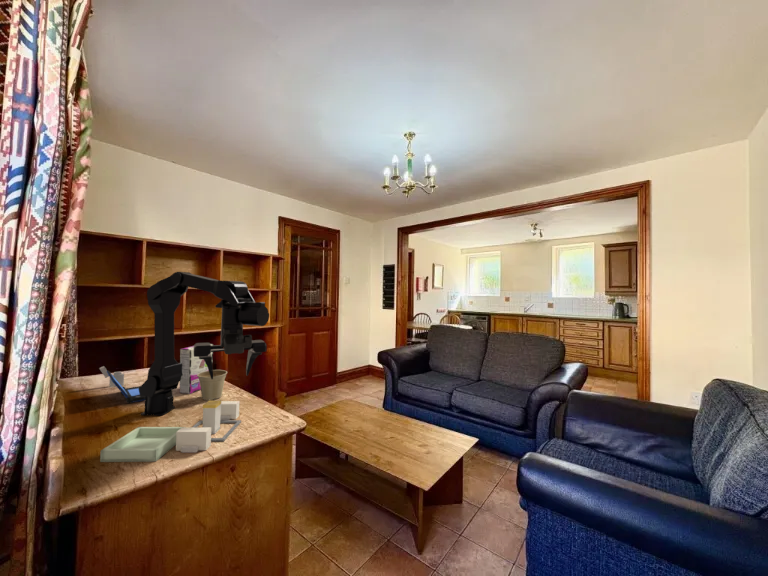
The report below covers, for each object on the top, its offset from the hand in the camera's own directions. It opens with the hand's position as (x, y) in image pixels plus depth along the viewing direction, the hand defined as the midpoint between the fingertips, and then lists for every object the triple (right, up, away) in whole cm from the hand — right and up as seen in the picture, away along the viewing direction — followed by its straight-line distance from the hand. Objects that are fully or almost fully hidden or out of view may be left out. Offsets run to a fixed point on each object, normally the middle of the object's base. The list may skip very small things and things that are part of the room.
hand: (230, 377), depth 90 cm
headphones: (-3, -13, -5) cm, 15 cm away
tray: (-13, -13, -15) cm, 24 cm away
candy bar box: (-27, -13, +28) cm, 41 cm away
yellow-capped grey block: (-3, -13, -5) cm, 15 cm away
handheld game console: (-44, -13, +19) cm, 49 cm away
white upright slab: (-59, -12, +28) cm, 66 cm away
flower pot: (-16, -13, +20) cm, 29 cm away
